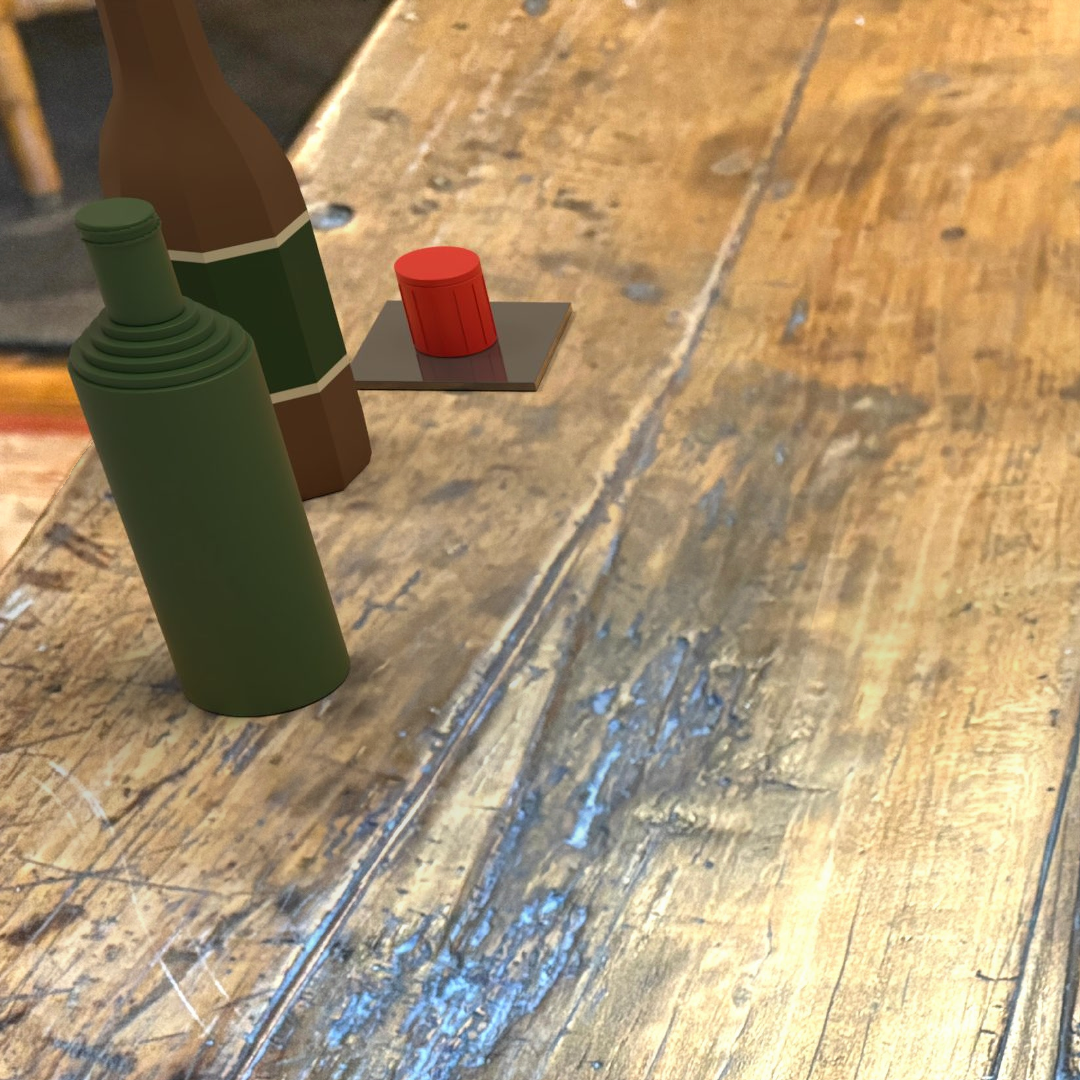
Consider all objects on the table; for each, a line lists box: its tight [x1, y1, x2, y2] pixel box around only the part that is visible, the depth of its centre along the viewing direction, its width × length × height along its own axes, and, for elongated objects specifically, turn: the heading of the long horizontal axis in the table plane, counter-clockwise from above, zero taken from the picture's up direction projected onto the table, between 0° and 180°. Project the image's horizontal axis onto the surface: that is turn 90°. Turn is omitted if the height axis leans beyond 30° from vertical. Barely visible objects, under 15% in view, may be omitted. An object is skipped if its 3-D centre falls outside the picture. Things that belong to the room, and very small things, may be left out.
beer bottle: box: [94, 0, 373, 501], centre depth 105 cm, size 8×8×24 cm
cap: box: [393, 245, 497, 358], centre depth 120 cm, size 4×4×4 cm
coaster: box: [350, 299, 573, 392], centre depth 122 cm, size 9×9×1 cm
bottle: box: [66, 198, 351, 717], centre depth 95 cm, size 6×6×18 cm
